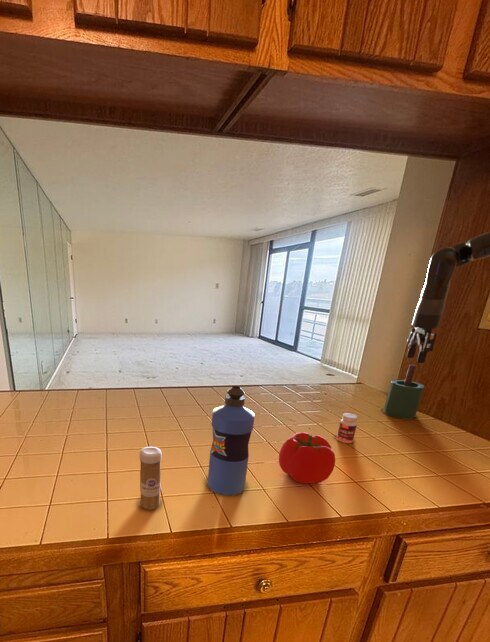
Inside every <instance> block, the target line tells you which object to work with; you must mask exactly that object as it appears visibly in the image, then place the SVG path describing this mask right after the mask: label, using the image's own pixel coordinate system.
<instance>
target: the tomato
mask: <svg viewBox="0 0 490 642" xmlns="http://www.w3.org/2000/svg"><path fill="white" fill-rule="evenodd" d="M278 453H279V454H278V465H279V467H280V469H281V470H282V471H283V473H285V474H286V475H288V476H290V477H291V478H292V479H293V480H294V481H296V482H297V483H300V484H304V485H308V484H319V483H322V482H324V481H326V480H328V479H329V477H330V476H331V475H332V473H333V471H334V469H335V465H336V455H335V452H334V451H333V449H332V445H331V444H330V443H329V442H328V440H327V439H326V438H325V437H323V436H322V435H319V434H315V435H313V434H309V433H308V432H303V431H301V432H295V433H294V434H293V435H291V436H289V438H288V439H286V440H285V441H284V442H283V444H282V445H281V448H280V450H279V452H278Z"/></svg>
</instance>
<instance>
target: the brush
mask: <svg viewBox="0 0 490 642" xmlns="http://www.w3.org/2000/svg"><path fill="white" fill-rule="evenodd" d="M417 367H418V366H417V365H416V364H409V365H408V369H407V372H406V376H405V379H404V380H405V382H404V386H410V387H411V384H412V382H413V380H414V377H415V373H416V370H417Z"/></svg>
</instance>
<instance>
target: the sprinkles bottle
mask: <svg viewBox="0 0 490 642" xmlns="http://www.w3.org/2000/svg"><path fill="white" fill-rule="evenodd" d="M139 461H140V470H139V471H140V472H139V489H140V490H139V491H140V501H139V505H140V507H142V509H145V510H150V511H151V510H156V509H157V508H159V507H160V505H161V475H162V473H161V471H162V470H161V462H162V449H160V448H159V447H156V446H145V447H142V448H141V449H140V450H139Z"/></svg>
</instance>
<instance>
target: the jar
mask: <svg viewBox="0 0 490 642" xmlns="http://www.w3.org/2000/svg"><path fill="white" fill-rule="evenodd" d="M404 382H405V379H393V380H391V381H390V385H389V389H388V393H387V396H386V399H385V403H384V406H383V410H382V411H383V413H384V414H385V415H388V416H390V417H393V418H397V419H403V420H405V419H406V420H412V419H415V417H416V415H417V412H418V409H419V406H420V403H421V399H422V397H423V393H424V391H425V388H426V387H425V384H422V383H420V382H416V381H412V384H411V387H410V386H404Z"/></svg>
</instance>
